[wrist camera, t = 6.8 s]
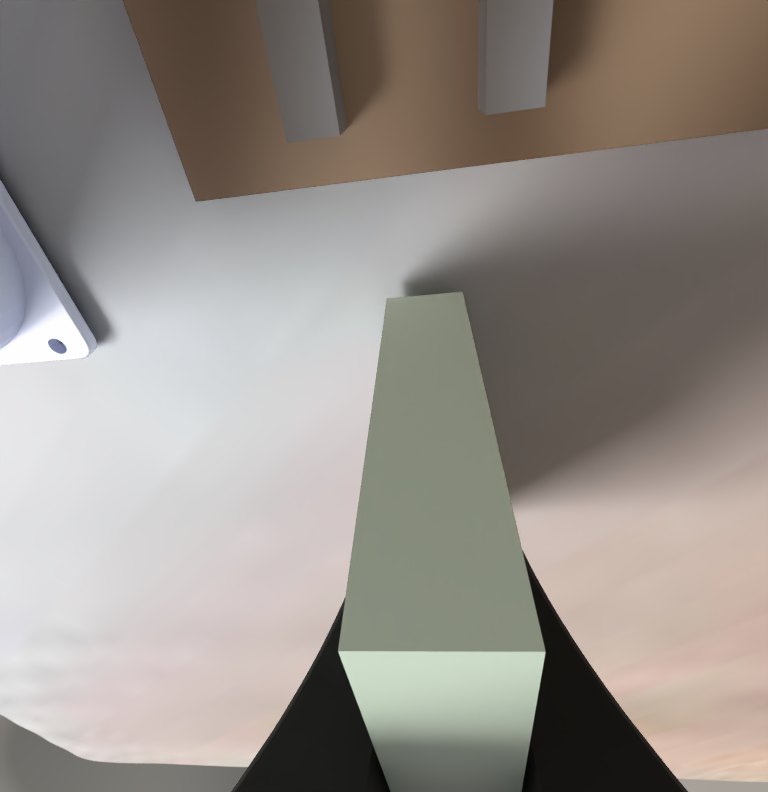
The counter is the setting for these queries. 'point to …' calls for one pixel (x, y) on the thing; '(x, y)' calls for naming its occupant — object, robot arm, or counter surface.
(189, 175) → the rack
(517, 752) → the sage green block
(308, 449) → the counter surface
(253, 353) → the counter surface
